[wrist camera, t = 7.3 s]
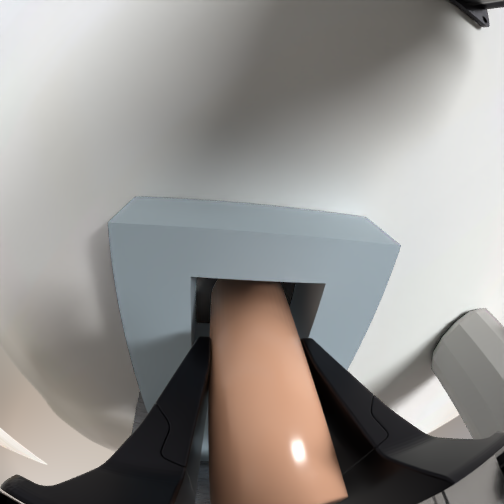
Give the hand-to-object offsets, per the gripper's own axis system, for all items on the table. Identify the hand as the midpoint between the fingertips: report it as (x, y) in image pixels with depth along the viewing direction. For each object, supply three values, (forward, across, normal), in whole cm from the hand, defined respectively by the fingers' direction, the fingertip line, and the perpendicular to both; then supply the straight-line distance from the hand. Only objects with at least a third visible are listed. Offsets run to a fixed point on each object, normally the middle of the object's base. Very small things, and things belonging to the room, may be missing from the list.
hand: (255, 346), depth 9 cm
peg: (+3, 0, 0) cm, 3 cm away
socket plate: (+4, 0, +6) cm, 7 cm away
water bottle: (+4, -19, +4) cm, 20 cm away
